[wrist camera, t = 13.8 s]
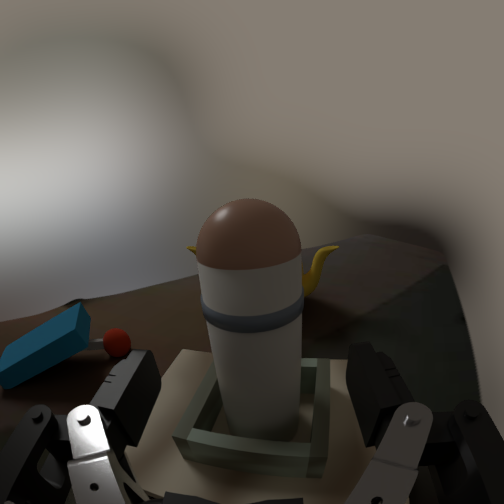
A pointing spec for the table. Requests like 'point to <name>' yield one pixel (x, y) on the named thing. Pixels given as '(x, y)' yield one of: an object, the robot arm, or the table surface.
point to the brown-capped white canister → (254, 315)
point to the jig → (250, 441)
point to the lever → (56, 346)
